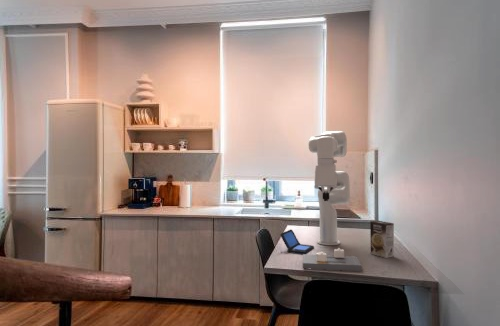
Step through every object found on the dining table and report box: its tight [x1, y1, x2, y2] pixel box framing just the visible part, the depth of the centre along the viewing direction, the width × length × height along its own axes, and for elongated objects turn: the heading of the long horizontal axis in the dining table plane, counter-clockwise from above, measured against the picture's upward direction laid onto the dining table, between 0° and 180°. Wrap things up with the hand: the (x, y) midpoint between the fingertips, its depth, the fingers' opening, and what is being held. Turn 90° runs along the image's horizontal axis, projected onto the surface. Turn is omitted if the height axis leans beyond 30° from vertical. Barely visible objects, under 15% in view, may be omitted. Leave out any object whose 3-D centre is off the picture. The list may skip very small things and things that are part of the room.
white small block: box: [316, 251, 327, 262], centre depth 144 cm, size 3×4×4 cm
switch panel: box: [302, 253, 362, 272], centre depth 147 cm, size 14×24×3 cm, turn 81°
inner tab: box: [333, 247, 345, 258], centre depth 150 cm, size 3×4×4 cm
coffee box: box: [369, 220, 395, 259], centre depth 163 cm, size 9×6×16 cm
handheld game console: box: [280, 229, 315, 255], centre depth 175 cm, size 16×13×9 cm
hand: (325, 200), depth 159 cm, fingers closed
